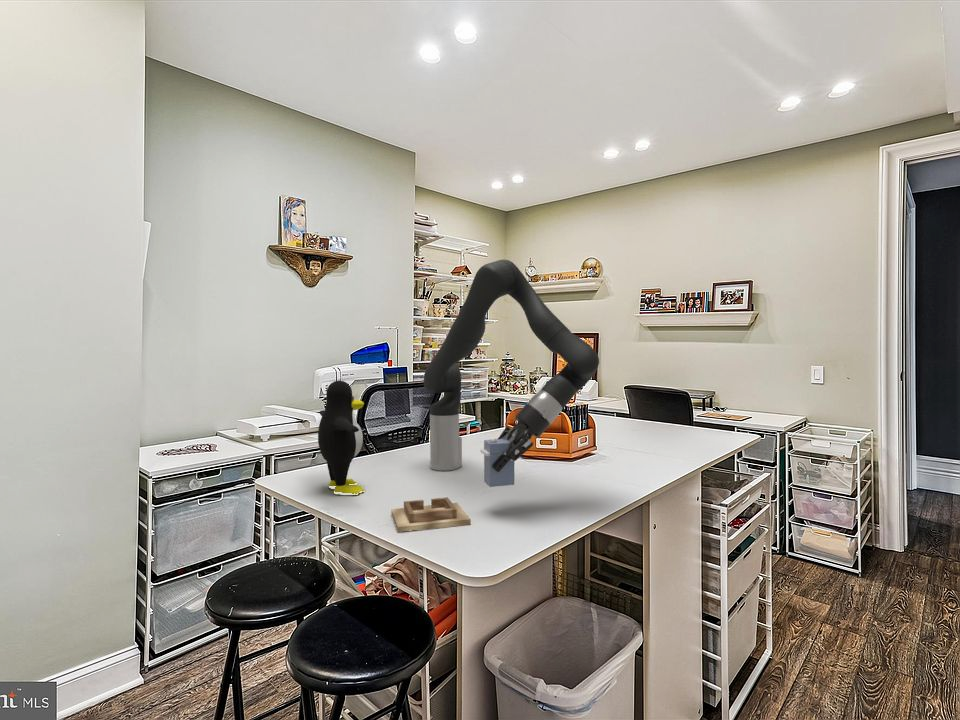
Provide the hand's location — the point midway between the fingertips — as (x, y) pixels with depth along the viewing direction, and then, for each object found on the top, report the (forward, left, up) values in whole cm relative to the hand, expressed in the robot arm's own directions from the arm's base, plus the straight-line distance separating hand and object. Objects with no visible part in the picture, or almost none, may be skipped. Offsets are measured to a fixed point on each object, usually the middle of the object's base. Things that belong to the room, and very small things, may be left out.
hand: (491, 466), depth 120 cm
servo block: (-2, +1, -4) cm, 5 cm away
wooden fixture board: (+14, -5, -11) cm, 18 cm away
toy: (+21, -40, -11) cm, 46 cm away
